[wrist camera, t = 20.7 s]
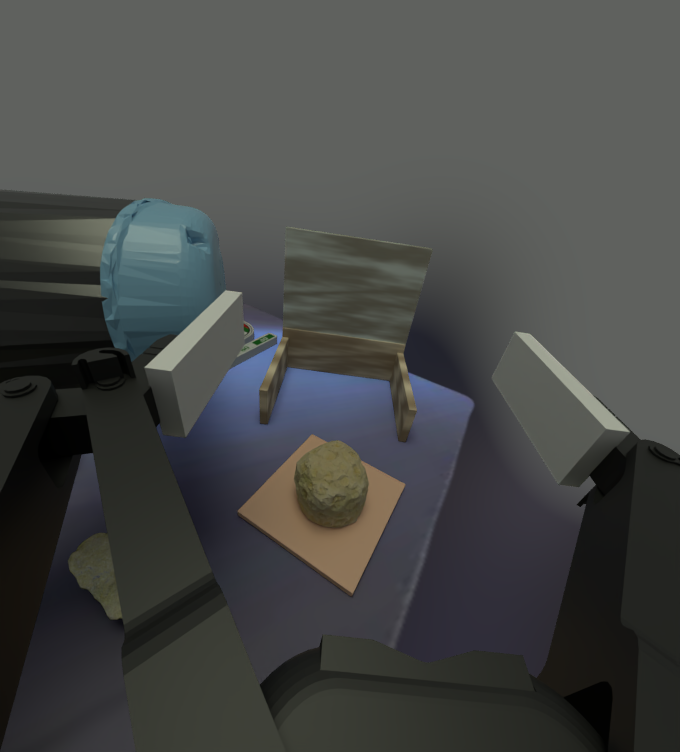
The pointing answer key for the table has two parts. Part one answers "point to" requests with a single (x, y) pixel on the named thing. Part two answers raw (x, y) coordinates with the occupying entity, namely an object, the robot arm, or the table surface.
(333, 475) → the olive rounded lump
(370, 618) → the table surface
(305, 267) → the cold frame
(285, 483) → the terracotta tile
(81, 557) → the rock
